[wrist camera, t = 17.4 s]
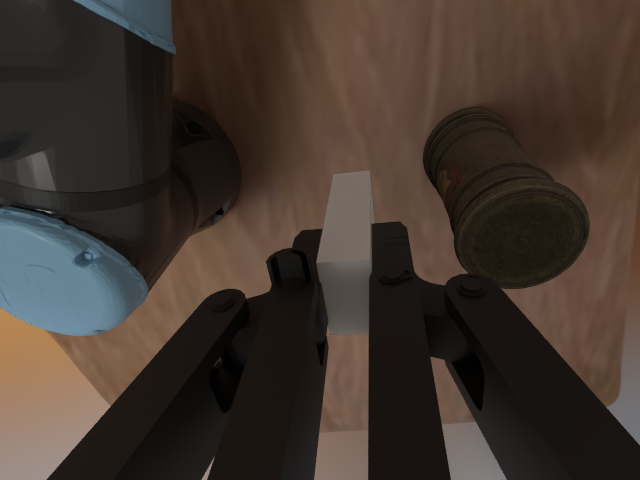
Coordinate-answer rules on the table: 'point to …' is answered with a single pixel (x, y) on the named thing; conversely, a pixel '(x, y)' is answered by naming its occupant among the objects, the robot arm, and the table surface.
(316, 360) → the robot arm
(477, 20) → the table surface
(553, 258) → the container
